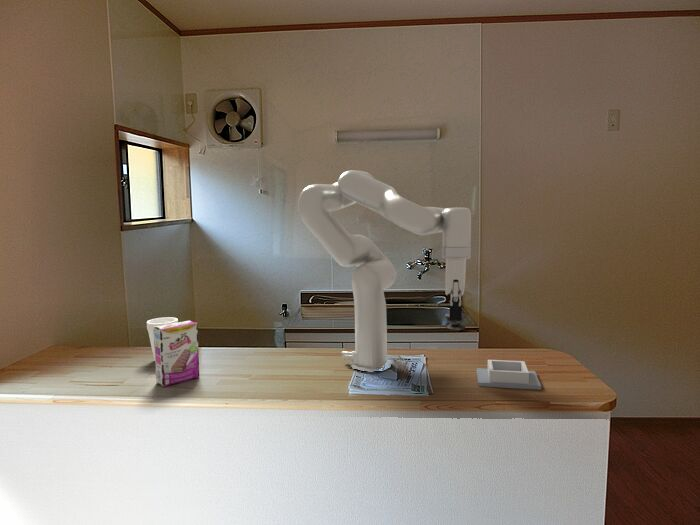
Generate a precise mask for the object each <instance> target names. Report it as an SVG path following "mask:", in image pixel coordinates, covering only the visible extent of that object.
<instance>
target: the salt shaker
mask: <svg viewBox="0 0 700 525" xmlns="http://www.w3.org/2000/svg"><path fill="white" fill-rule="evenodd" d="M452 294H453V293H452ZM458 294H460V293H458ZM458 298H459V297H458ZM448 302H449V307H450V306H451V299H450V300H449V301H448ZM461 303H462V304H463V300H461ZM444 316H445V317H446V318H445V319H446V321H447V322H448V323H449V324H448V325H446V326H445V328H446V329H447V330H451V331H452V330H453V331H460V330H465V329H466V326H464V324H463V323H464V322H465V321H466V318H467V314H466V313H463V312H462V320H461V321H453V320H450V311H449V312H447V313H445V314H444Z"/></svg>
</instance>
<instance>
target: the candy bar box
mask: <svg viewBox="0 0 700 525" xmlns="http://www.w3.org/2000/svg"><path fill="white" fill-rule="evenodd" d="M198 326H199V325H198V322H195V321H192V320H185V321H178V323H172V324H166V325H161V326H155V327H154V347H155V360H154V363H155V379H156V380H155V381H156V384H158V385H159V386H161V387H162V388H164V387H168V386H172V385H176V383H177V384H179V382H180V383H184V382H186V380H188V381H191V380H194V379H193V378H195V379H198V378H197V377H199V378H200V359H199V358H200V357H199V356H200V355H199V352H200V351H199V329H198ZM190 379H191V380H190ZM183 381H184V382H183Z"/></svg>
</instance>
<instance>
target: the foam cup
mask: <svg viewBox="0 0 700 525" xmlns="http://www.w3.org/2000/svg"><path fill="white" fill-rule="evenodd" d="M178 322H179V319H178V318H177V317H174V316H173V317H171V316H168V317H157V318H152V319H149V320H147V321H146V330H147V331H148V336H149V342H150V346H151V350H152V351H151V352H152V356H153V360H154V361H155V347H154V327H155V326H161V325H166V324H172V323H178Z"/></svg>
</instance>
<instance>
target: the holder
mask: <svg viewBox="0 0 700 525" xmlns="http://www.w3.org/2000/svg"><path fill="white" fill-rule="evenodd" d="M476 377H477V378H476V380H477V387H487V388H490V387H491V388H502V389H503V388H507V389H525V390H542V384H541V382H540V380H539V377H538V375H537V372H536V371H535V370H528V367H527V365H526V361H523V360H501V359H487V368H484V367H483V368H481V367H478V368H477V367H476Z"/></svg>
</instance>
